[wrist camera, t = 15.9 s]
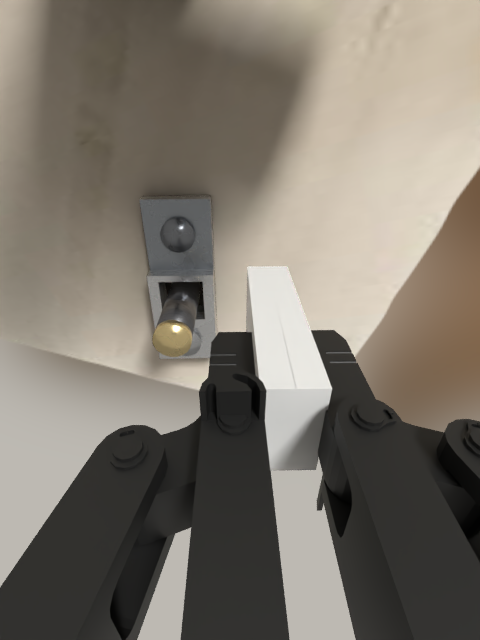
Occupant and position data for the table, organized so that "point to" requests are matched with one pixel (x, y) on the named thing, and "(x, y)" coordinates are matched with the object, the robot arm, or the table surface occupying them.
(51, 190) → the table surface
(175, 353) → the pin
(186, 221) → the metal block with stud
